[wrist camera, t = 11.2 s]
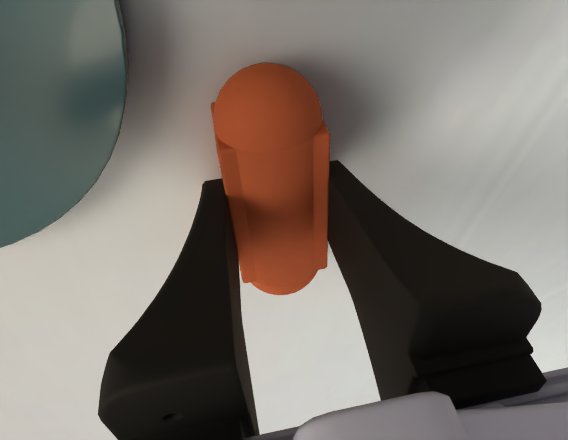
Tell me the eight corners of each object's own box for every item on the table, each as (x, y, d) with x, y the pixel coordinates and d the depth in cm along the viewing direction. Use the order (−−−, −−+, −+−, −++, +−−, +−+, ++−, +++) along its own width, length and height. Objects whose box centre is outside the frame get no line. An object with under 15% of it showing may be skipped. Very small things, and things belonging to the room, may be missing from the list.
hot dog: (311, 244, 18) (329, 302, 16) (239, 257, 18) (249, 318, 16) (307, 37, 12) (337, 88, 10) (200, 52, 12) (207, 107, 10)
